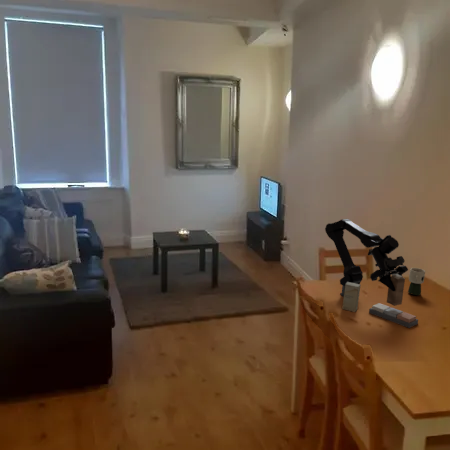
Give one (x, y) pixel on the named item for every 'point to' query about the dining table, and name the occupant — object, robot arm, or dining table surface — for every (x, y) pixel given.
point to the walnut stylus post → (396, 290)
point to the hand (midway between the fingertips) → (398, 290)
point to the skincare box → (351, 296)
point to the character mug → (416, 280)
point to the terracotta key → (406, 317)
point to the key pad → (390, 314)
